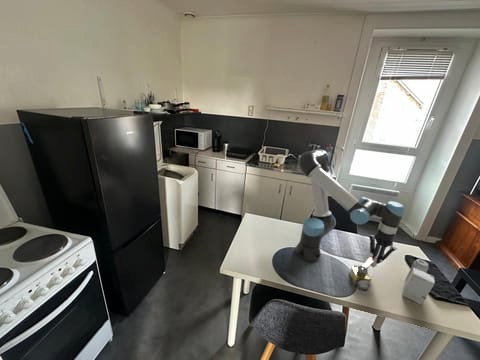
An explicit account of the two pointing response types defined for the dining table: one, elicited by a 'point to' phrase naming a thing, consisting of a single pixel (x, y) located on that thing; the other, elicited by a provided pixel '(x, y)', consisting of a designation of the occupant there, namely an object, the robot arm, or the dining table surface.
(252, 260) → the dining table surface
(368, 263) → the lever
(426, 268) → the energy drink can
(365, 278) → the valve
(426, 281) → the skincare box
